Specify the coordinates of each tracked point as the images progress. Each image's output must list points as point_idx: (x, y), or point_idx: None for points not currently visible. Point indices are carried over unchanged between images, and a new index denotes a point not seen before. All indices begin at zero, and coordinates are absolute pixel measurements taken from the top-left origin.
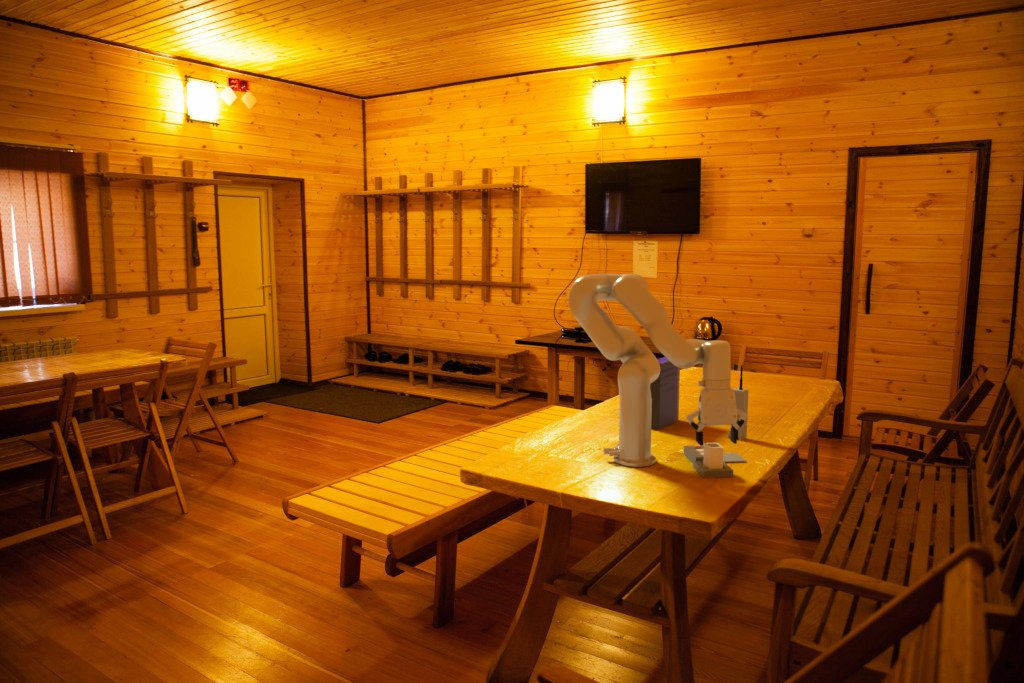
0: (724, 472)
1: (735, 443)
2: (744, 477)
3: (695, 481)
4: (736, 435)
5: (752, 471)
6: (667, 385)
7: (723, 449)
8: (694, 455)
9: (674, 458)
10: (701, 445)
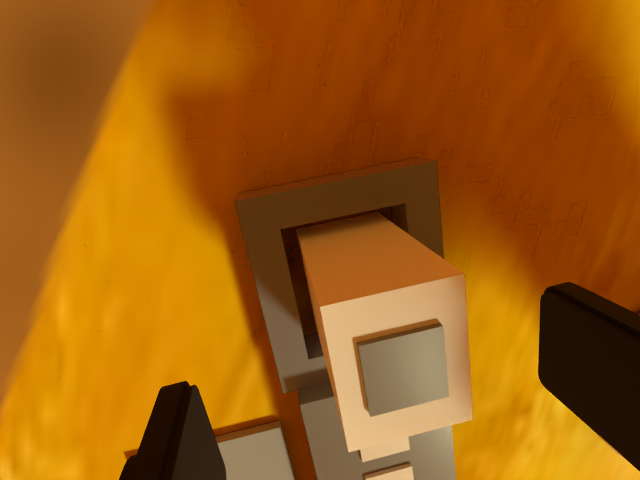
0: (295, 186)
1: (178, 383)
2: (165, 198)
3: (478, 86)
4: (133, 475)
5: (105, 317)
6: None
7: (318, 297)
8: None
9: (489, 441)
10: (555, 287)
